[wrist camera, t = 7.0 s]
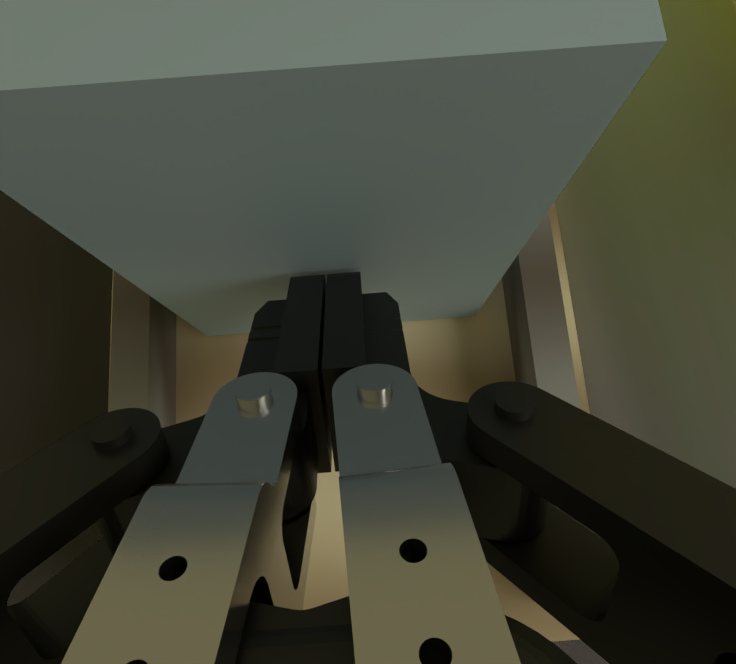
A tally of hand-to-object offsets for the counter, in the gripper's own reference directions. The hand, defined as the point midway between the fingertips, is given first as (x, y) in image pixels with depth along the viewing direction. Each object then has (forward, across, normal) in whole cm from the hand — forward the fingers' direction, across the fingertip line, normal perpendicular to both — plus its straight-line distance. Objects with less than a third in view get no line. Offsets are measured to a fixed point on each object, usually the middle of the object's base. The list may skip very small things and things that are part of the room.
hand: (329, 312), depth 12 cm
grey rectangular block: (+5, 0, +1) cm, 5 cm away
